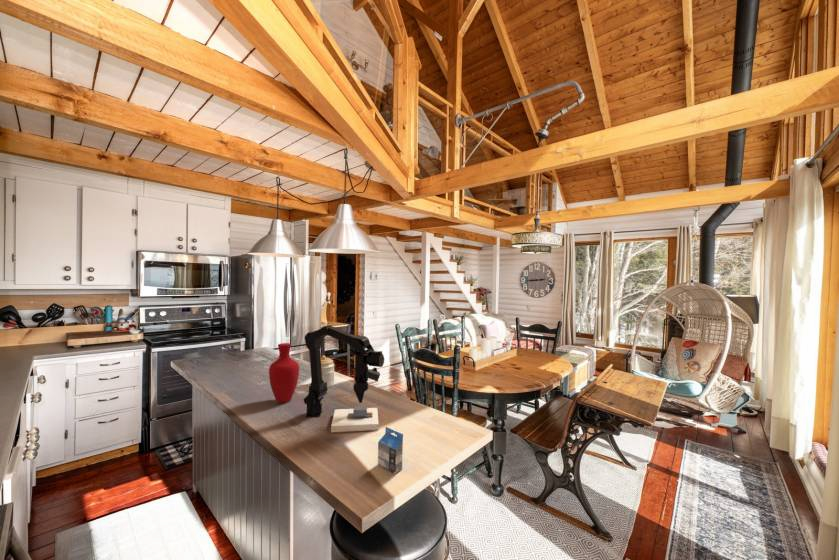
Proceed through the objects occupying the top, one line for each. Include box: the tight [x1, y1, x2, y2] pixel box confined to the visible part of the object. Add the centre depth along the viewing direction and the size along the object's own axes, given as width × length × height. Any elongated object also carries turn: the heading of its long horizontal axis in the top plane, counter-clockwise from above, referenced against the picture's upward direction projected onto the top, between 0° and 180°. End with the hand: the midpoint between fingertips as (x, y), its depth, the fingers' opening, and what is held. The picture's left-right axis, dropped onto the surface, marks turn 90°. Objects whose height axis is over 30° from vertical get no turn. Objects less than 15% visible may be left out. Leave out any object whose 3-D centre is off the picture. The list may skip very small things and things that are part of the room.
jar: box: [321, 355, 335, 388], centre depth 206 cm, size 13×13×18 cm
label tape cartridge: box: [377, 426, 404, 475], centre depth 119 cm, size 9×4×12 cm, turn 50°
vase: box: [268, 342, 300, 404], centre depth 178 cm, size 15×15×30 cm
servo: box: [348, 405, 372, 419], centre depth 155 cm, size 11×4×6 cm, turn 99°
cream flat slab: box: [330, 407, 379, 433], centre depth 155 cm, size 20×18×3 cm
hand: (360, 398), depth 155 cm, fingers open, 9 cm apart
